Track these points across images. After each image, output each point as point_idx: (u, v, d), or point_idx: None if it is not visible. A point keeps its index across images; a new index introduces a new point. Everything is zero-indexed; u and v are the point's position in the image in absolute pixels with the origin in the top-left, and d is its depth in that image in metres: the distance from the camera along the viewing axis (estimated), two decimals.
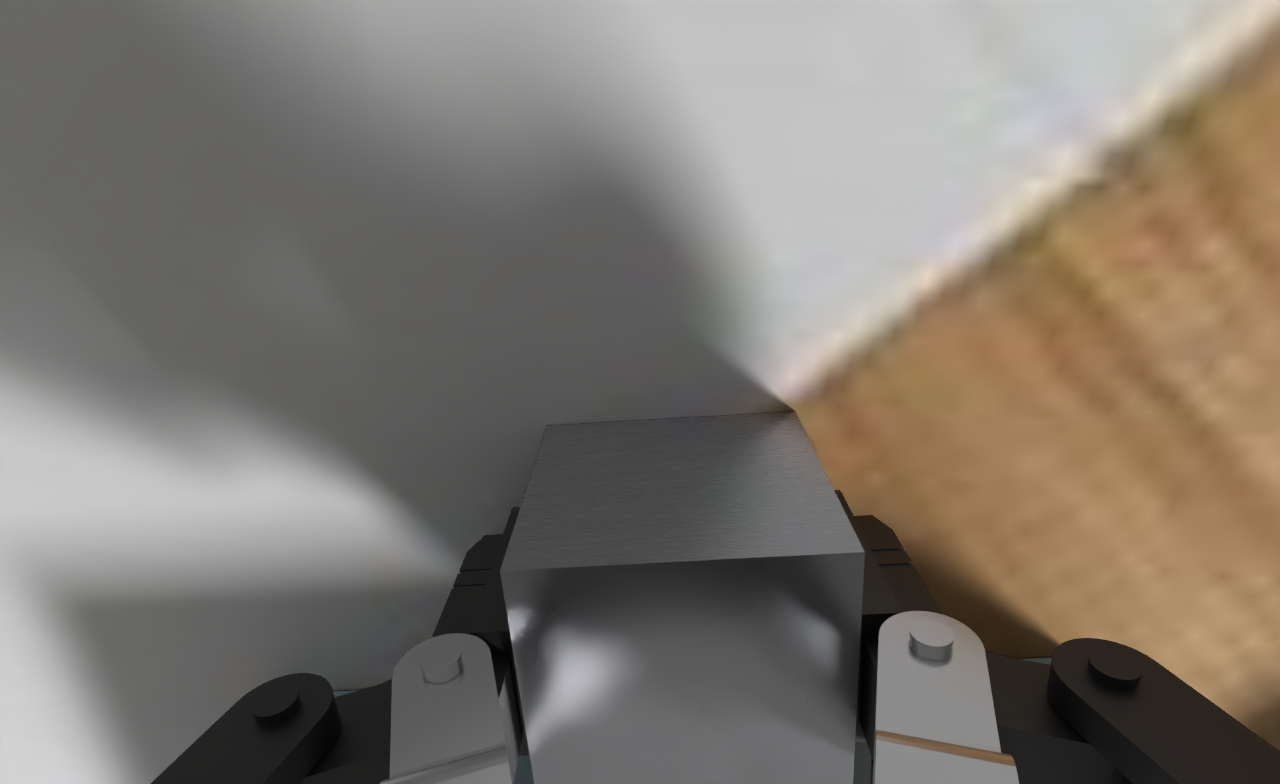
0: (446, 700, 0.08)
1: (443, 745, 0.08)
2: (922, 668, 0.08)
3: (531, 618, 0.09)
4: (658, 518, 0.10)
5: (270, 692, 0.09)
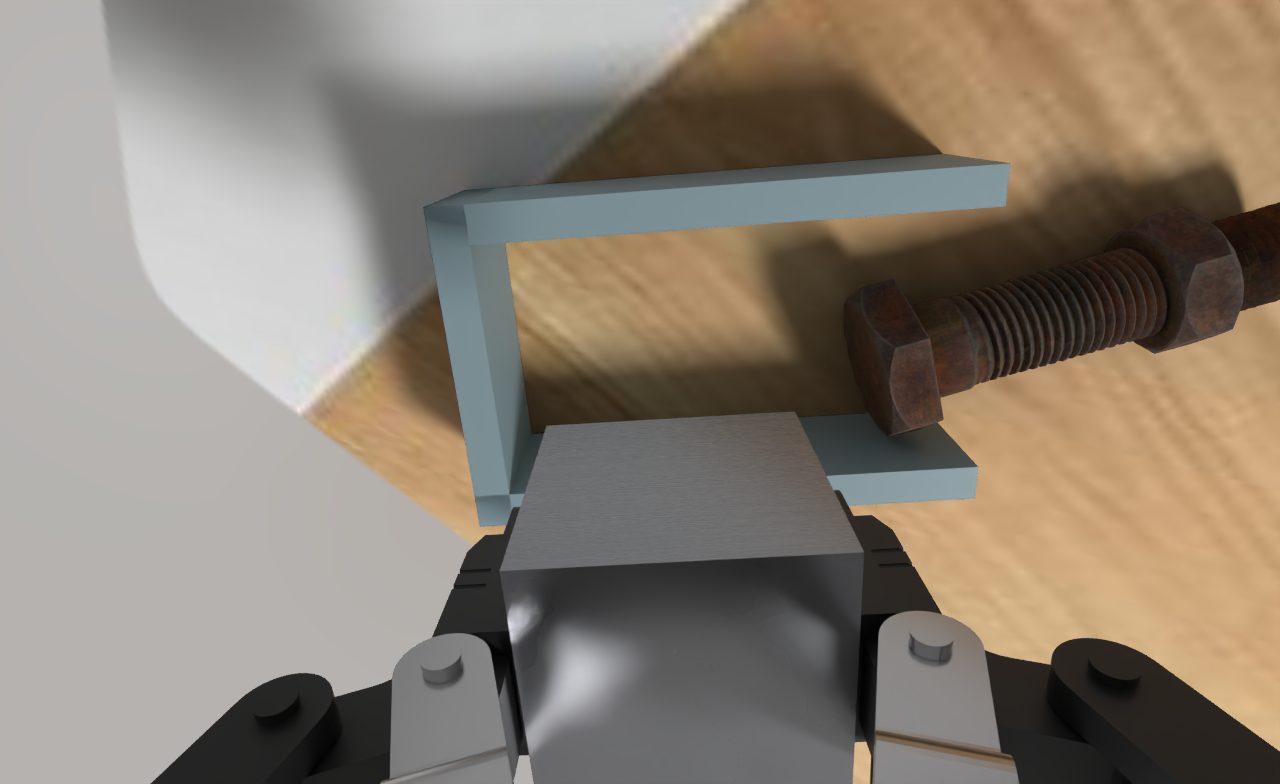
0: (445, 701, 0.08)
1: (443, 745, 0.08)
2: (922, 668, 0.08)
3: (531, 620, 0.09)
4: (658, 518, 0.10)
5: (270, 692, 0.09)
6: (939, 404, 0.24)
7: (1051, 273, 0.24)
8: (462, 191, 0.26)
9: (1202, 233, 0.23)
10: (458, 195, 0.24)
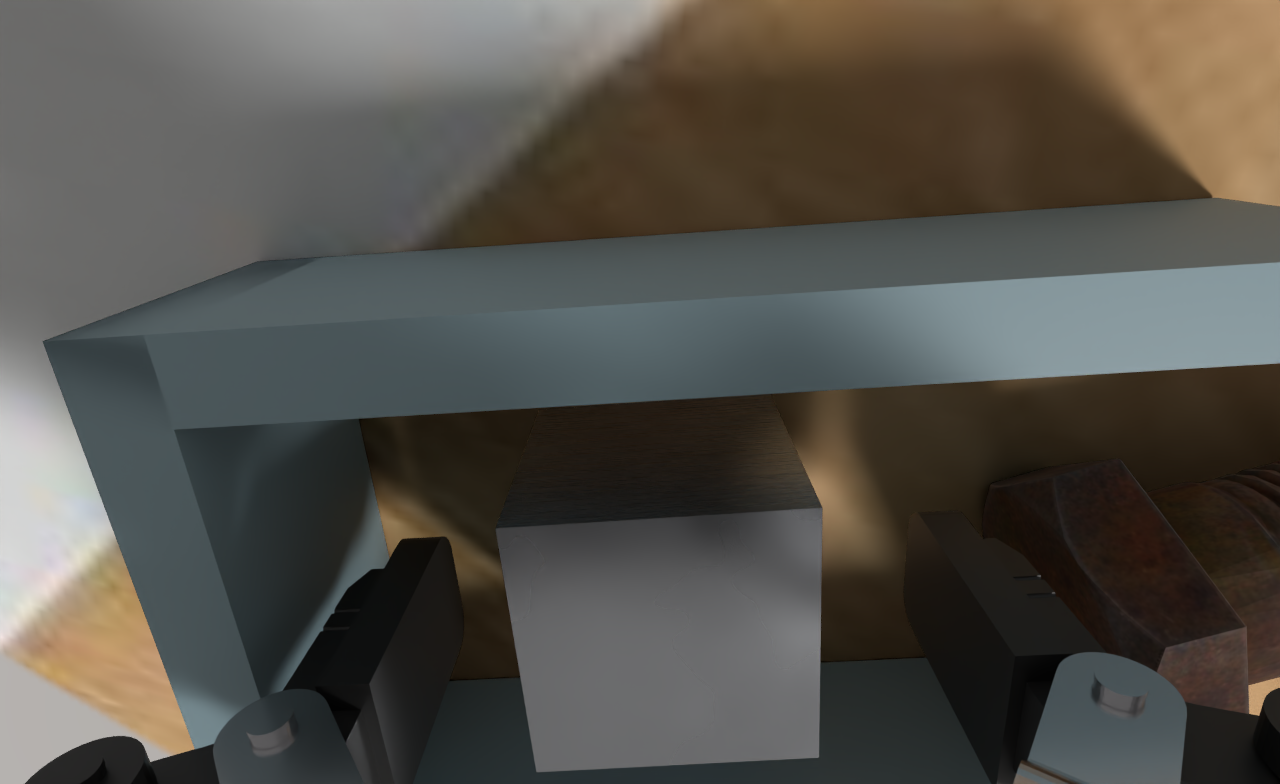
0: (286, 762, 0.08)
1: None
2: (1119, 721, 0.08)
3: (524, 573, 0.10)
4: (639, 484, 0.11)
5: (64, 765, 0.08)
6: None
7: None
8: (247, 266, 0.13)
9: None
10: (212, 283, 0.11)
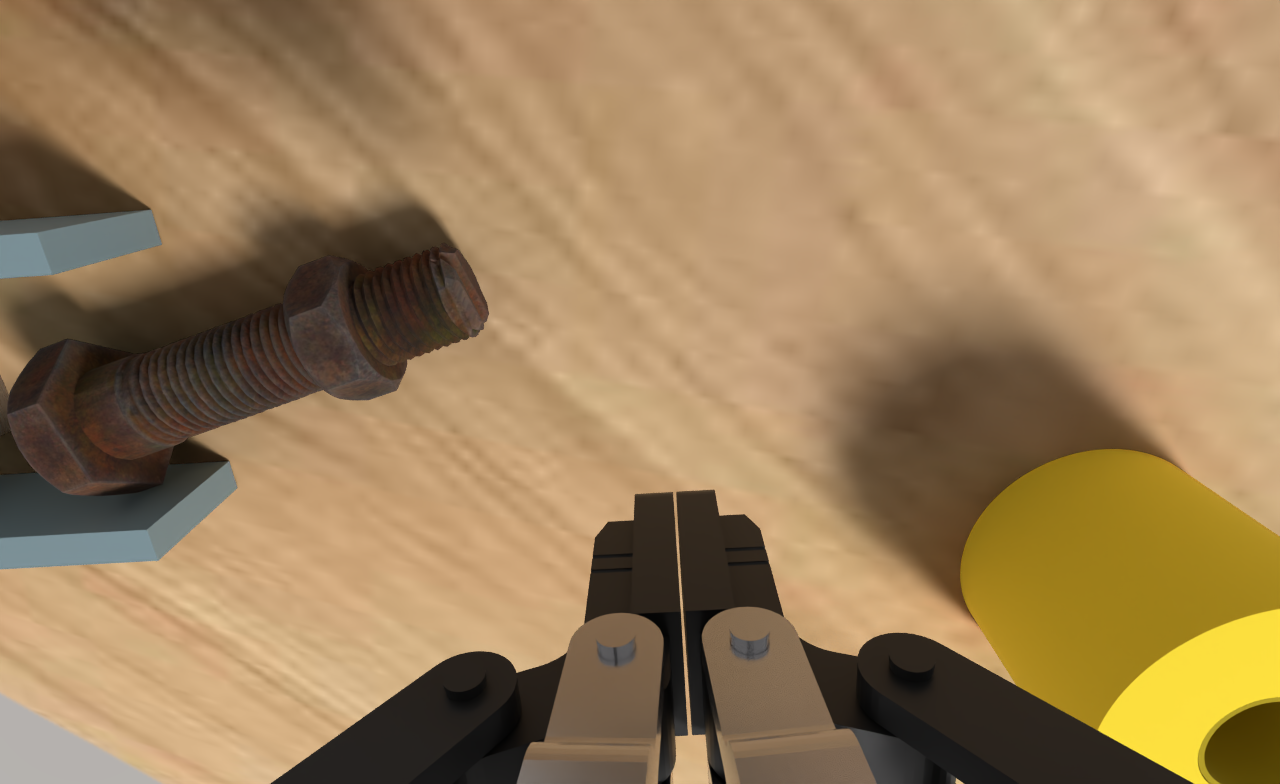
0: (612, 679, 0.09)
1: (643, 719, 0.08)
2: (733, 661, 0.09)
3: None
4: None
5: (463, 666, 0.09)
6: (80, 467, 0.23)
7: (219, 326, 0.24)
8: None
9: (319, 284, 0.23)
10: None
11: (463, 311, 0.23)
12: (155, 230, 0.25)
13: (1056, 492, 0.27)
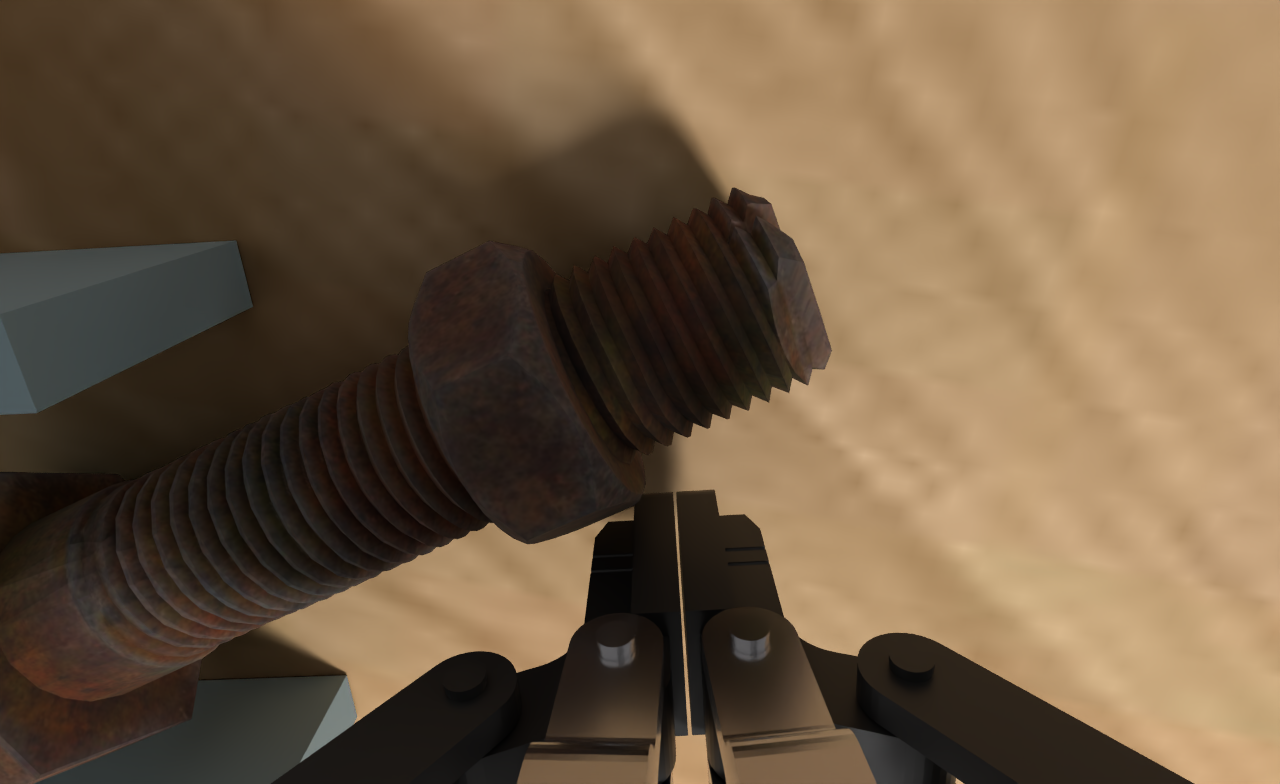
0: (611, 679, 0.09)
1: (643, 720, 0.08)
2: (733, 661, 0.09)
3: None
4: None
5: (463, 666, 0.09)
6: (9, 753, 0.11)
7: (270, 417, 0.12)
8: None
9: (487, 303, 0.10)
10: None
11: (803, 331, 0.10)
12: (243, 280, 0.13)
13: None
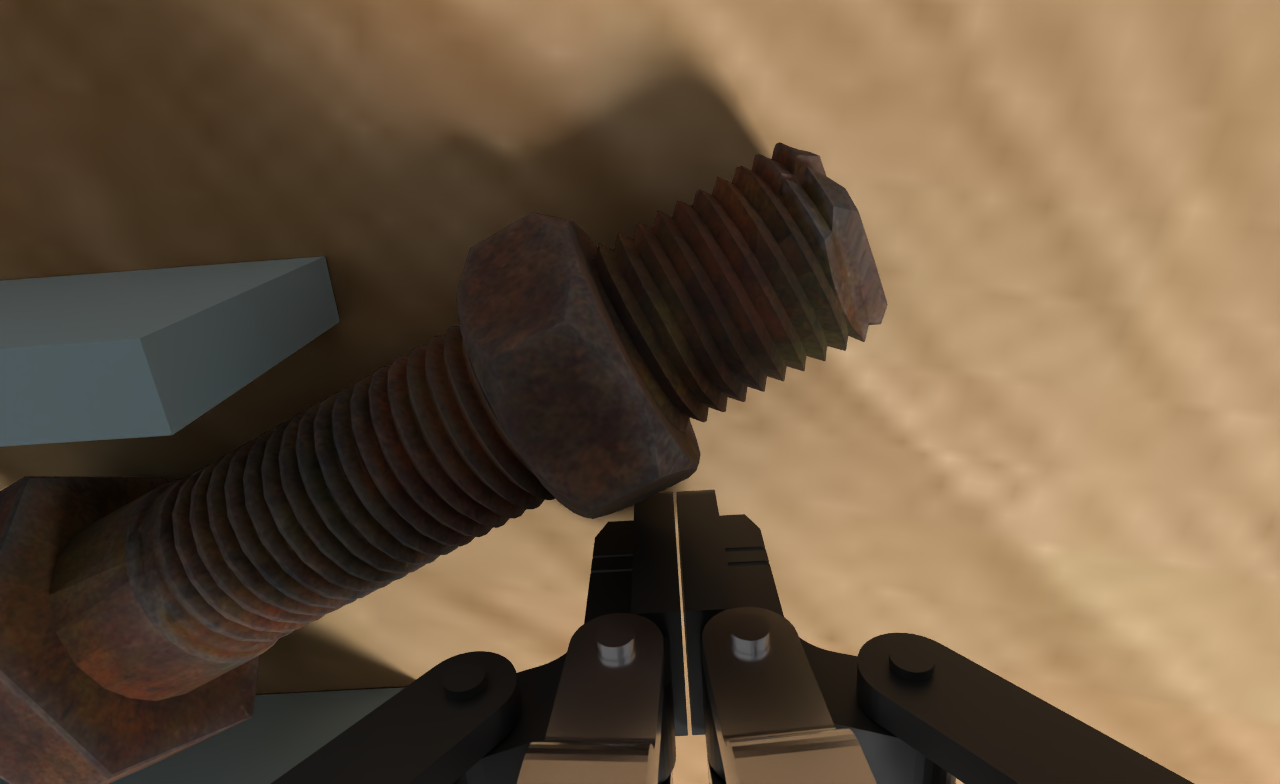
0: (611, 679, 0.09)
1: (643, 720, 0.08)
2: (733, 661, 0.09)
3: None
4: None
5: (463, 666, 0.09)
6: (81, 753, 0.11)
7: (320, 405, 0.11)
8: None
9: (537, 272, 0.10)
10: None
11: (859, 285, 0.10)
12: (331, 295, 0.13)
13: None
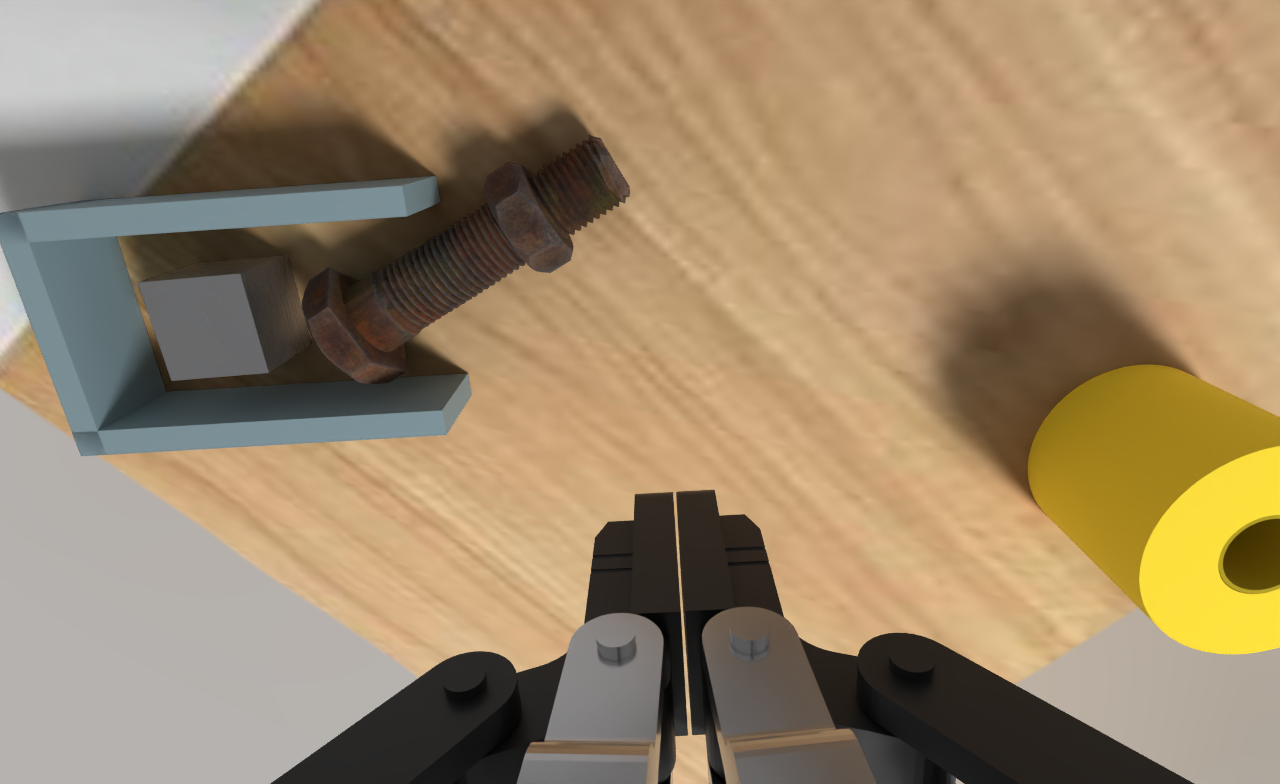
0: (612, 679, 0.09)
1: (643, 720, 0.08)
2: (733, 661, 0.09)
3: (150, 299, 0.31)
4: (196, 273, 0.32)
5: (463, 666, 0.09)
6: (361, 352, 0.32)
7: (436, 234, 0.32)
8: (73, 202, 0.34)
9: (509, 179, 0.31)
10: (53, 205, 0.32)
11: (615, 180, 0.31)
12: (438, 191, 0.34)
13: (1107, 394, 0.35)
